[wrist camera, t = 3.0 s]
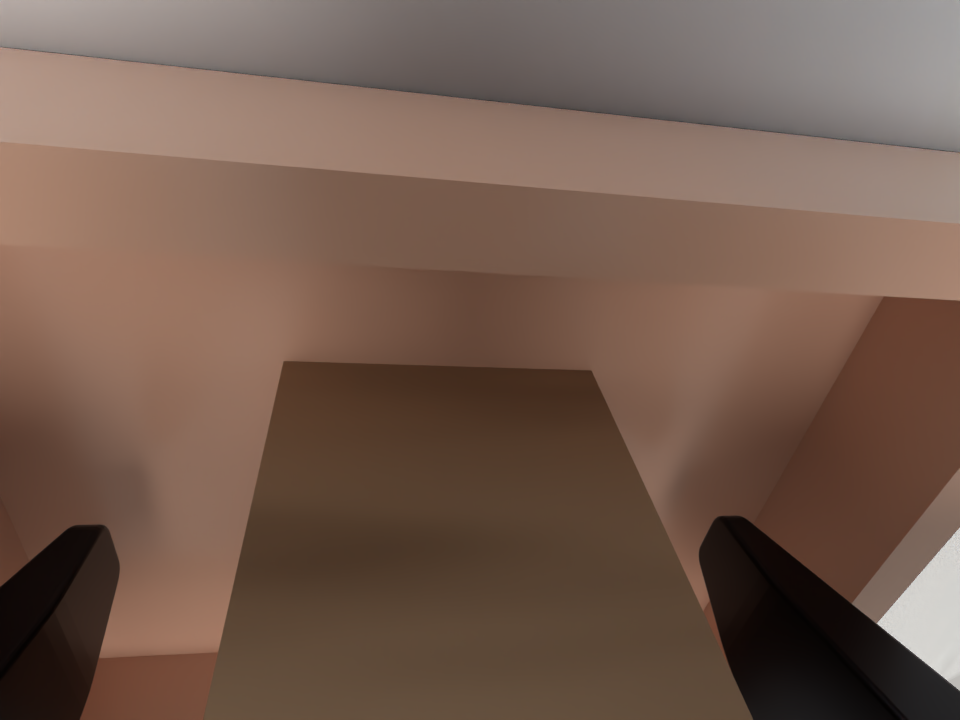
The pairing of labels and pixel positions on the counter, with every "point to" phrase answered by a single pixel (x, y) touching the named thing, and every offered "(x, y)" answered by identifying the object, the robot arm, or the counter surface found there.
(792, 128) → the counter surface
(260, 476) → the block
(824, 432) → the dish
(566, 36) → the counter surface
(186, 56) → the counter surface
